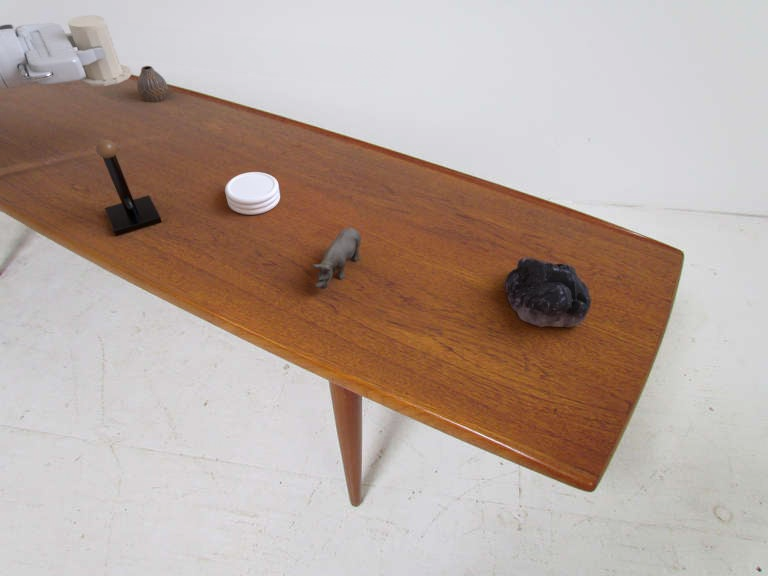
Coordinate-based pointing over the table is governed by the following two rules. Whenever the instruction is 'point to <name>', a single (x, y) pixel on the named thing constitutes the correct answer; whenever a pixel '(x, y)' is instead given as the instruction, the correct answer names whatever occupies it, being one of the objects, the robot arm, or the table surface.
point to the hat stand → (125, 197)
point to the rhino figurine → (338, 256)
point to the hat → (96, 33)
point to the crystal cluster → (547, 293)
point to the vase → (152, 85)
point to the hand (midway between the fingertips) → (100, 44)
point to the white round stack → (252, 193)
